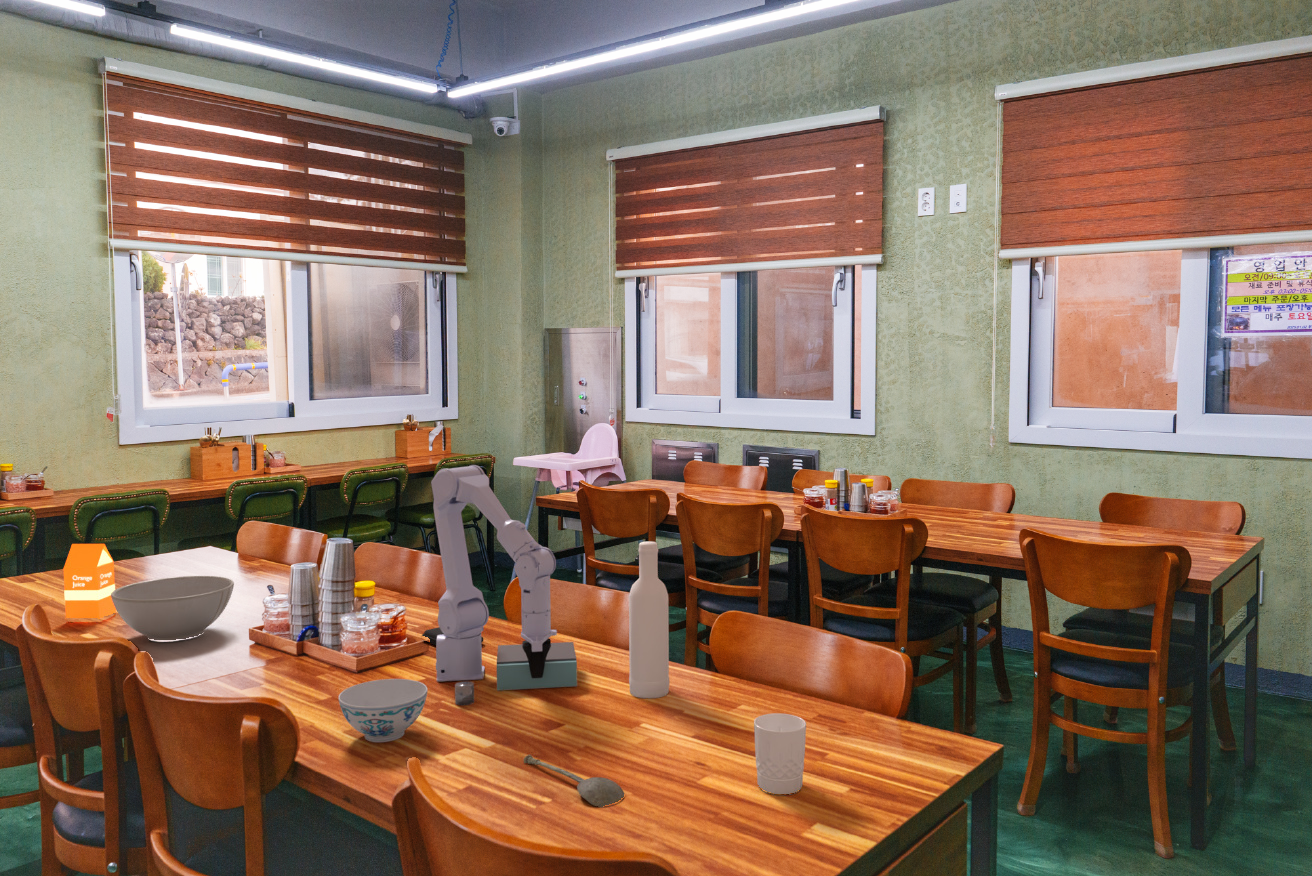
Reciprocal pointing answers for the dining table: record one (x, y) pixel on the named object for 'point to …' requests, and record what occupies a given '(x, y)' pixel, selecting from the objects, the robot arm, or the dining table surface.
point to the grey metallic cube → (464, 693)
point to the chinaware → (383, 707)
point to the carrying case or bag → (433, 635)
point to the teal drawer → (521, 678)
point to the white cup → (780, 752)
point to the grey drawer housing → (517, 655)
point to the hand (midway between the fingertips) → (537, 677)
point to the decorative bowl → (173, 605)
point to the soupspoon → (589, 785)
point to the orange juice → (89, 582)
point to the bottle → (648, 628)
